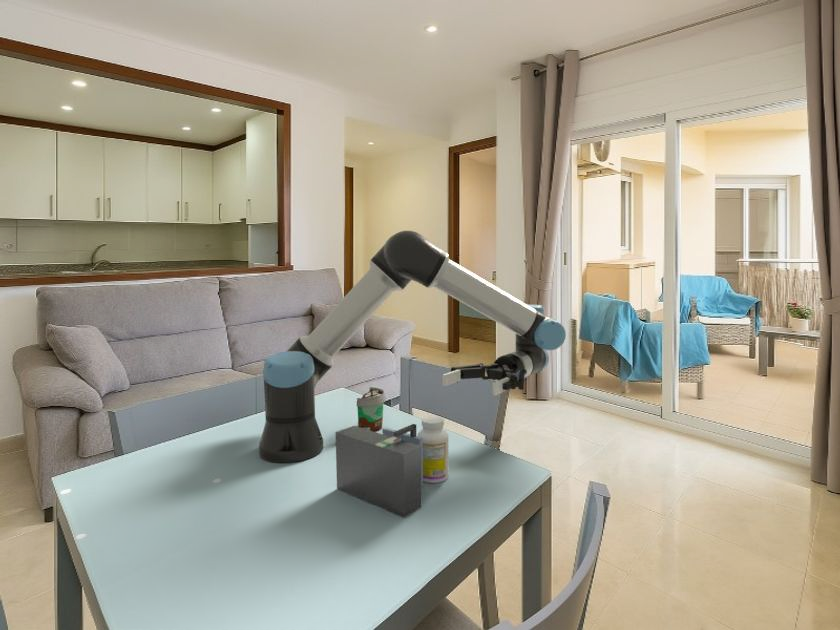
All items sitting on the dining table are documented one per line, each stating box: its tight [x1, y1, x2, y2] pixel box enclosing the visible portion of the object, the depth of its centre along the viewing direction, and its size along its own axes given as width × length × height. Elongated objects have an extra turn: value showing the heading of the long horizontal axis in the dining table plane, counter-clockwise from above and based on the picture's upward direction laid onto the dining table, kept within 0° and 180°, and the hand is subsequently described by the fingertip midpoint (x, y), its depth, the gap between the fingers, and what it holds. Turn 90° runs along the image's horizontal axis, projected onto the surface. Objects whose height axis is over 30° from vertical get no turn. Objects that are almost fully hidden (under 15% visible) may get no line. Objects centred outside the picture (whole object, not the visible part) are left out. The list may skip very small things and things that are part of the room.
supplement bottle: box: [416, 415, 449, 484], centre depth 107 cm, size 7×7×13 cm
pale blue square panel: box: [382, 423, 424, 487], centre depth 102 cm, size 10×6×12 cm, turn 52°
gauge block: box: [335, 425, 422, 518], centre depth 98 cm, size 18×5×12 cm, turn 52°
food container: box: [356, 386, 387, 433], centre depth 138 cm, size 12×6×10 cm, turn 168°
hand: (467, 384), depth 115 cm, fingers open, 13 cm apart
